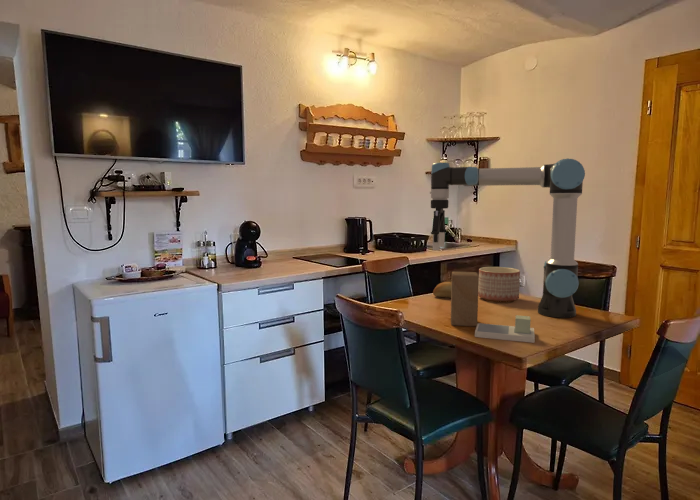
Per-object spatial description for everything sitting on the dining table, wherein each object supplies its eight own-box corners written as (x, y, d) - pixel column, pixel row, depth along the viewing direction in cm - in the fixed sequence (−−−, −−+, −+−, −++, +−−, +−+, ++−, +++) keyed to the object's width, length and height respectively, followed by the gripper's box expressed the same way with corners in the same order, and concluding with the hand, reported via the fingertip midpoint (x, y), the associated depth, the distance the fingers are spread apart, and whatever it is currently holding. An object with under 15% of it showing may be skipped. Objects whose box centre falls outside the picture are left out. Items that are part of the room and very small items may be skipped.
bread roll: (433, 294, 240) (433, 279, 240) (463, 296, 237) (463, 280, 236) (432, 298, 231) (432, 282, 230) (463, 300, 228) (463, 284, 227)
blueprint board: (533, 333, 171) (533, 327, 171) (534, 342, 160) (534, 336, 160) (477, 328, 178) (477, 322, 178) (474, 336, 167) (474, 331, 167)
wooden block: (477, 326, 180) (478, 276, 178) (450, 325, 182) (452, 275, 180) (475, 320, 190) (477, 272, 187) (450, 319, 192) (451, 271, 189)
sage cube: (529, 329, 168) (530, 316, 168) (529, 333, 164) (530, 319, 163) (515, 328, 170) (515, 315, 169) (514, 332, 165) (515, 318, 165)
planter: (524, 298, 230) (526, 269, 229) (509, 305, 216) (510, 274, 214) (488, 293, 243) (489, 265, 241) (471, 299, 229) (472, 269, 227)
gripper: (435, 199, 212) (435, 245, 215) (425, 199, 189) (424, 251, 191) (452, 199, 210) (451, 245, 212) (443, 199, 186) (442, 251, 189)
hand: (438, 248), depth 202 cm, fingers open, 13 cm apart
